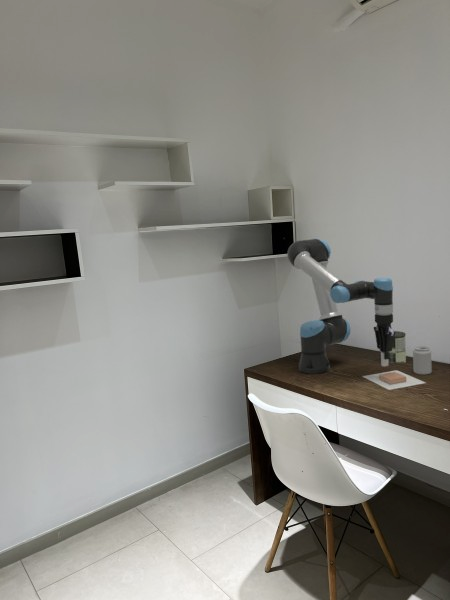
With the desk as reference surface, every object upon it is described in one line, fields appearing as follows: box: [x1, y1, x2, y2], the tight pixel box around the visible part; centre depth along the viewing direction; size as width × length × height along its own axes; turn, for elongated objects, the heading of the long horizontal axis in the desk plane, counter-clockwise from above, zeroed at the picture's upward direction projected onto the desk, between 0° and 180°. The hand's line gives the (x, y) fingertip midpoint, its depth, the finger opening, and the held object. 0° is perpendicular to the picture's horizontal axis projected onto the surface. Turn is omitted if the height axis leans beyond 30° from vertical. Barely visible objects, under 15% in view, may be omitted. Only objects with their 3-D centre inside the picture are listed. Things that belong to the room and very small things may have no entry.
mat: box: [362, 369, 426, 391], centre depth 201 cm, size 20×18×1 cm
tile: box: [379, 371, 407, 384], centre depth 199 cm, size 2×8×8 cm
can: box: [412, 345, 433, 375], centre depth 207 cm, size 8×8×12 cm
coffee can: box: [388, 330, 407, 364], centre depth 227 cm, size 10×10×14 cm
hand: (384, 365), depth 204 cm, fingers closed
